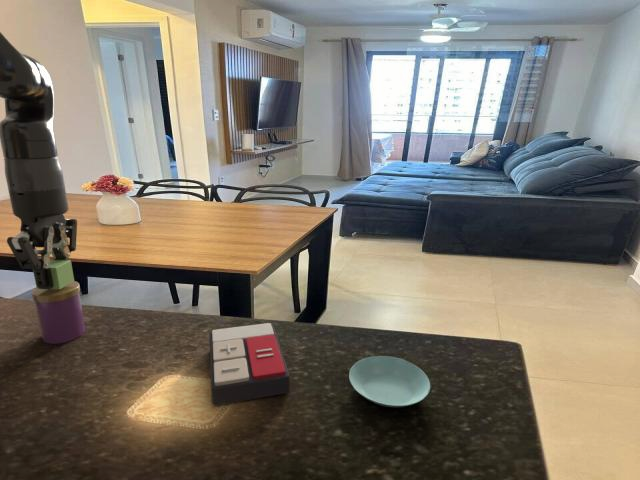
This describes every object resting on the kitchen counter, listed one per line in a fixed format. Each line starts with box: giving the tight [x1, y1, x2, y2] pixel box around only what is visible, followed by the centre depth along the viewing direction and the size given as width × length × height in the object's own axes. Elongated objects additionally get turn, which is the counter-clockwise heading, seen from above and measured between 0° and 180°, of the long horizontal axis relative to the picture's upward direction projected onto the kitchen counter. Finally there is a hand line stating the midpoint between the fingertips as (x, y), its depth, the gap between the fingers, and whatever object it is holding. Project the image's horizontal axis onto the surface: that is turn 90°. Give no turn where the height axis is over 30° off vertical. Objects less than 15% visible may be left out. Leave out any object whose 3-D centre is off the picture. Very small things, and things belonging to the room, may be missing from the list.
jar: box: [31, 280, 86, 345], centre depth 68 cm, size 7×7×9 cm
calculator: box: [208, 322, 291, 407], centre depth 60 cm, size 11×4×15 cm
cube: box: [32, 259, 75, 290], centre depth 66 cm, size 4×4×4 cm
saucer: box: [348, 355, 431, 408], centre depth 57 cm, size 12×12×2 cm
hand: (55, 282), depth 67 cm, fingers closed on cube, 4 cm apart
